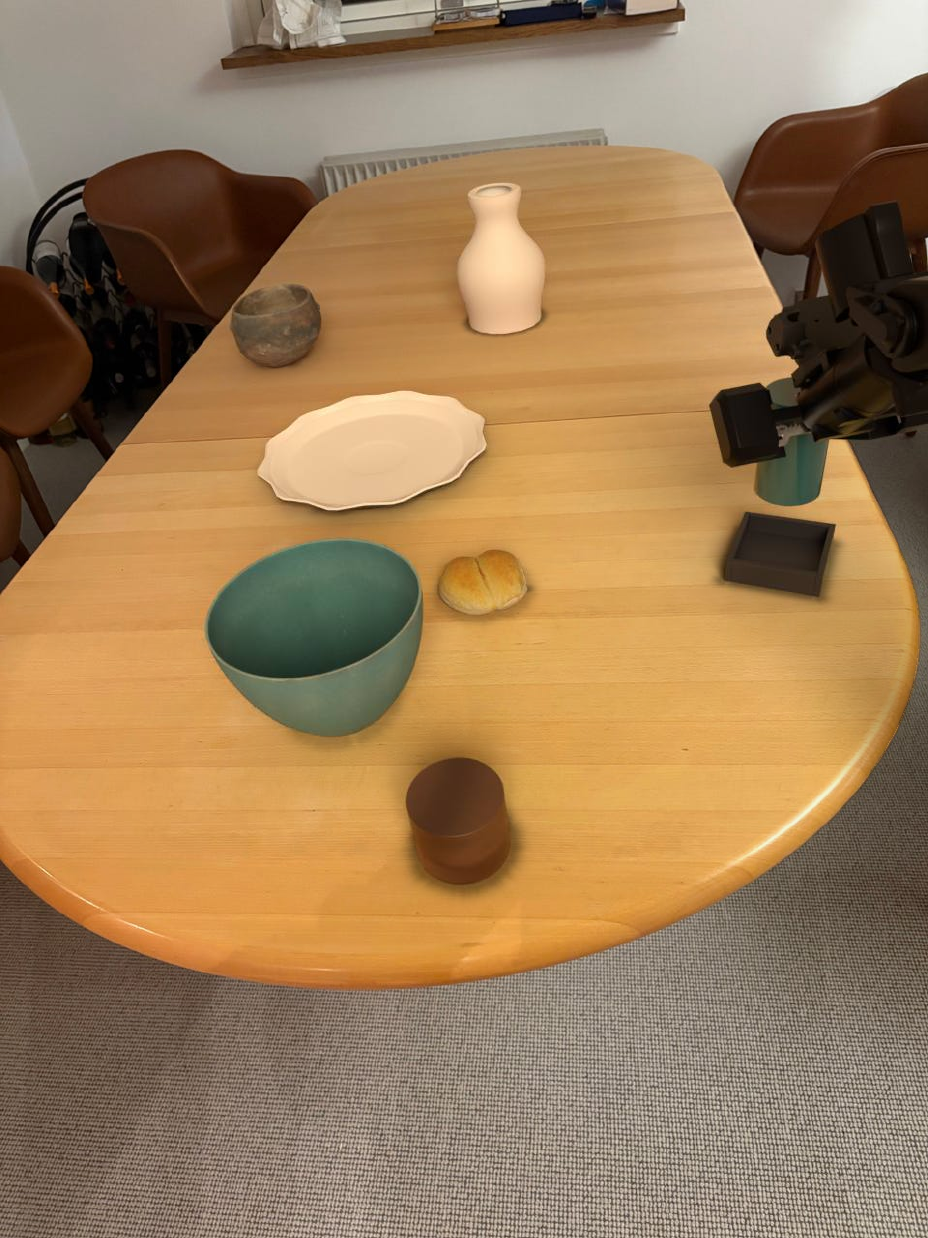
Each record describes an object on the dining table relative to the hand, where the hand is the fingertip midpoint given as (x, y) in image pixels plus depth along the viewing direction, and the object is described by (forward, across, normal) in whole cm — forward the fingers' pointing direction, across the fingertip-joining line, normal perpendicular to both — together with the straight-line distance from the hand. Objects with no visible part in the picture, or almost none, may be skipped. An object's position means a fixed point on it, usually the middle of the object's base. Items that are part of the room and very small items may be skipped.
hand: (786, 439), depth 82 cm
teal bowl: (+4, +45, +16) cm, 48 cm away
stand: (-9, +37, +28) cm, 47 cm away
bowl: (+61, +48, -43) cm, 89 cm away
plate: (+34, +38, -16) cm, 53 cm away
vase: (+61, +12, -43) cm, 76 cm away
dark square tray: (+9, 0, +10) cm, 13 cm away
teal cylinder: (+2, 0, +4) cm, 5 cm away
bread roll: (+12, +29, +7) cm, 33 cm away
